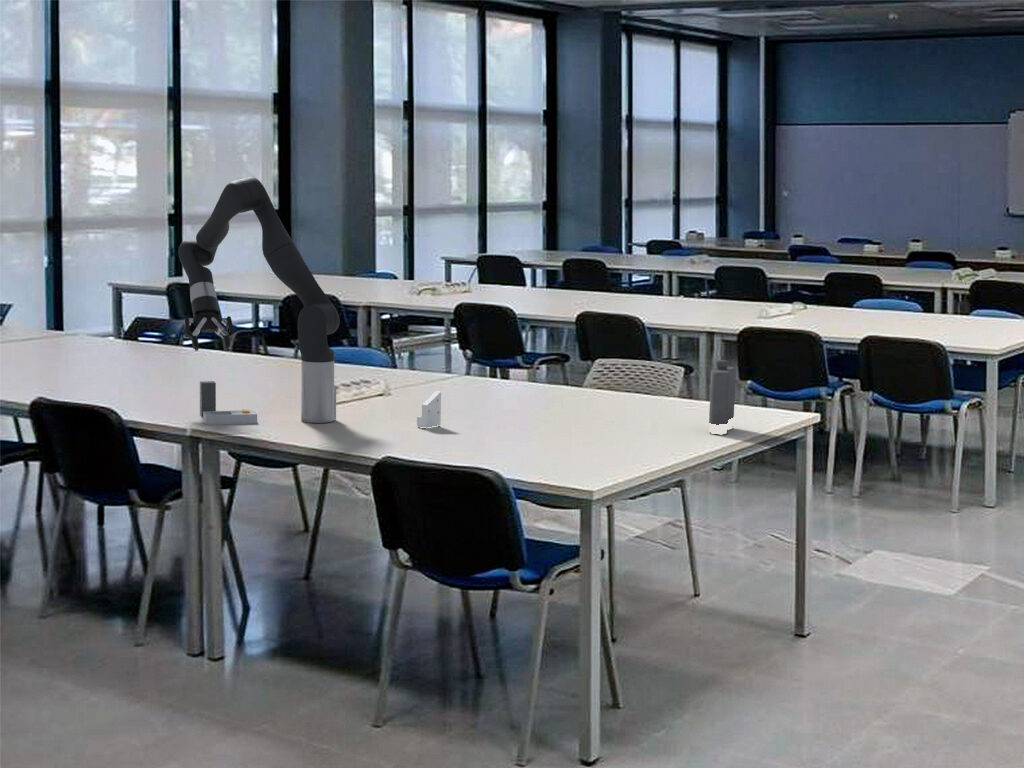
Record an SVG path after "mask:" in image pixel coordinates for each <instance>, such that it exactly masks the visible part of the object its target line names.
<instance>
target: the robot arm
mask: <svg viewBox="0 0 1024 768" xmlns="http://www.w3.org/2000/svg"><path fill="white" fill-rule="evenodd" d="M251 211H252V212H253V213H254V214H255V216H256V218H257V220H258V221H259V223H260V227H261V230H262V232H261V233H262V236H261V239H262V242H261V249H262V250H261V251H262V254H263V257H264V259H265V260H266V262H267V264H268V266H269V268H270V269H271V271H272V272H273V274H274V275H275V276H276V278H277V279H278V280H280V281H281V282H282V283H283V284H284V285H285V286H286V287H287V288H289V289H290V290H291V291H292V292H293V293H294V294H295V295H296V296H297V297H298V298H299V300H300V301H301V303H302V305H303V308H301V309H300V311H299V314H298V318H297V341H298V349H299V353H300V356H301V363H300V364H301V366H300V367H301V372H300V373H301V375H300V377H301V382H300V383H301V389H300V391H301V393H300V394H301V397H300V398H301V402H300V403H301V404H300V405H301V406H300V411H301V412H300V413H301V414H300V416H301V417H300V420H301V422H304V423H310V424H323V423H324V424H325V423H331V422H334V421H335V420H337V387H336V386H335V350H333V349H332V348H331V347H329V345H328V336H329V335H332V334H334V333H335V332H337V331H338V329H339V326H340V323H341V322H340V321H341V319H340V314H339V312H338V310H337V308H336V307H335V305H334V304H333V302H332V301H331V300H330V298H329V297H328V296H327V294H326V293H325V291H324V289H322V288H321V286H320V285H319V283H318V281H317V280H316V279H315V276H314V274H313V273H312V272H311V270H310V269H309V267H308V265H307V263H306V262H305V259H304V258H303V256H302V254H301V253H300V251H299V249H298V247H297V246H296V244H295V242H294V241H293V240H292V238H291V236H290V235H289V233H288V231H287V229H286V227H285V226H284V224H283V222H282V220H281V219H280V217H279V215H278V213H277V211H276V208H275V207H274V204H273V202H272V200H271V198H270V196H269V194H268V192H267V190H266V188H265V186H264V184H263V183H262V182H261V181H260V180H259V179H258V178H257V177H254V176H250V177H245V178H241V179H236V180H232V181H230V182H229V183H226V185H225V187H224V188H223V189H222V192H221V194H220V196H219V198H218V200H217V202H216V204H215V206H214V207H213V211H212V213H211V214H210V216H209V217H208V219H207V220H206V222H204V224H203V225H202V227H200V229H199V230H198V232H197V234H196V237H195V240H192V239H191V240H190V239H186V240H184V241H182V242H181V243H180V245H179V247H178V251H177V253H178V258H179V262H180V263H181V266H182V268H183V271H184V272H185V274H186V276H187V278H188V284H189V285H188V286H189V296H190V303H191V309H192V316H193V317H189V316H188V315H187V316H184V318H183V320H182V326H183V337H184V338H185V339H190V340H191V345H192V349H193V350H194V351H195V352H197V351H198V352H199V349H200V345H199V337H198V335H199V334H200V332H202V333H203V334H205V333H206V334H207V333H211V334H212V333H215V334H216V335H217V336H219V337H221V338H222V346H223V347H222V348H223V351H225V352H227V351H228V349H229V348H230V345H231V344H230V339H232V338H233V337H234V334H235V330H234V323H233V322H232V321H233V320H232V317H231V316H230V315H229V316H227V317H221V315H220V311H219V310H220V309H219V305H218V304H219V303H218V297H217V292H216V288H215V285H214V279H213V277H214V276H213V272H212V270H211V269H209V268H208V267H206V266H210V265H211V264H212V263H213V262H214V261H215V256H216V253H217V250H218V248H219V246H220V244H222V242H223V240H225V238H226V237H227V236H228V233H229V231H230V221H231V220H232V219H233V218H234V217H235V216H237V215H238V214H240V213H241V214H242V213H247V212H251ZM192 324H193V325H194V327H196V328H195V329H194V330H193V332H192V331H191V328H190V326H191V325H192ZM222 324H223V325H224V326H225V327H226V329H225V327H224V326H223V325H222Z"/></svg>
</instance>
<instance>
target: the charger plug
mask: <svg viewBox="0 0 1024 768" xmlns="http://www.w3.org/2000/svg"><path fill="white" fill-rule="evenodd" d="M216 387H217V383H216V382H215V381H214V380H199V415H200V416H201V417H202V418H203V411H217V390H216V389H217V388H216Z"/></svg>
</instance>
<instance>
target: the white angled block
mask: <svg viewBox="0 0 1024 768" xmlns="http://www.w3.org/2000/svg"><path fill="white" fill-rule="evenodd" d="M441 408H442V390H436V391H434V393H433V394H431V395H430V396H429V397H428V398H426V400H425V401H424V402H423V403H422V405H421V415H418V416H417V417H416V427H417V426H418V427H426V428H427V427H432V426H437V425H441V421H442V419H441V417H442V416H441V415H442V412H441V411H442V409H441Z"/></svg>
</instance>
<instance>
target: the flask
mask: <svg viewBox="0 0 1024 768" xmlns="http://www.w3.org/2000/svg"><path fill="white" fill-rule="evenodd" d="M736 373H737V368H736V367H733V366H730V364H729V361H728V360H724V359H723V360H722V359H718V360H717V361H715V368H713V369H711V371H710V387H709V388H710V389H709V390H710V391H709V392H710V394H709V412H708V413H709V414H708V416H709V417H708V418H709V419H708V424H709V423H711V424H716V425H719V424H727V423H728V420H729V419H731V418H733V417H735V397H736V396H735V395H736V376H737V374H736Z"/></svg>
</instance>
